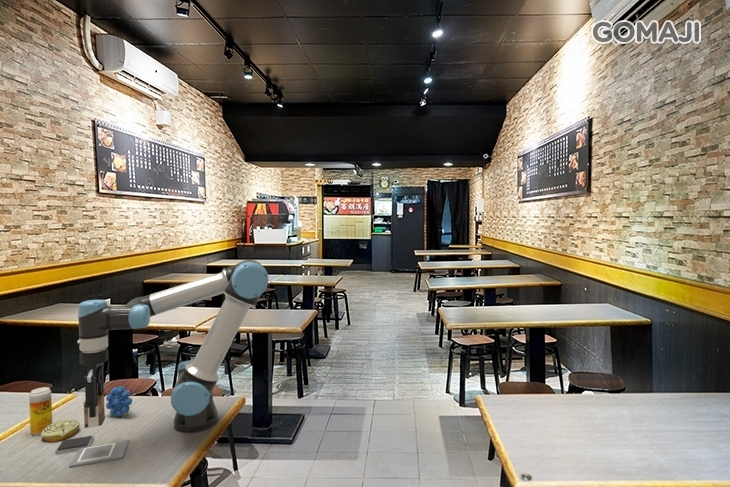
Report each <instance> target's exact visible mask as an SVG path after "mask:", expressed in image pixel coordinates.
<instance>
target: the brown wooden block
mask: <svg viewBox="0 0 730 487" xmlns="http://www.w3.org/2000/svg"><path fill="white" fill-rule="evenodd" d="M97 403H98V405H99V426H98V427H100V426H103V424H104V422H105V419H106V417H105V415H106V413H105V411H106V410H105V397H104V395H100V396H98V399H97ZM85 405H86V401H85V400H84V402H83V417H84V418H83V419H84V429H89V428H88V408H84V406H85Z"/></svg>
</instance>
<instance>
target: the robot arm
mask: <svg viewBox="0 0 730 487" xmlns="http://www.w3.org/2000/svg"><path fill="white" fill-rule="evenodd" d="M268 285H269V275H268V272H267V270H266V268H265V266H263V265H262V264H261V263H260V262H259V261H258V260H254V259H246V260H245V259H244V260H242V261H240V262H237V263H236V264H233V265H231V266H228V267H225V268H223V269H222V271H221V272H219V273H215V274H212V275H209V276H205V277H202V278H199V279H196V280H194V281H193V280H192V281H190V282H187V283H182V284H180V285H177V286H174V287H170V288H168V289H164V290H161V291H157V292H154V293H151V294H148V295H145V296H138V297H134V298H133V299H131V300H130V301H129V302H128V303H126V304H124V305H108V302H107V301H106V300H105V299H89V300H85V301H82V302H80V303H79V305H78V316H77V319H78V337H79V338H78V340H77V341H76V342H77V344H79V345H78V346H79V351H80V352H79V364H80V365H81V366H86V367H87V369H86V370H85V373H84V374H85V376H84V378H83V380H84V392H85V394H84V396H85V400H84V402H85V401H86V405H85V406H84V405H83V409H84V408H88V428H87V429H90V428H94V427H100V426H99V405H98V403H97V399H98V396H100V395H104V398H106V393H104V392H105V388H104V383H105V382H104V365H105V364H104V363H105V362H107V361H108V360H109V349H108V347H109V337H108V336H109V335H108V332H109V331H115V330H116V331H117V330H133V329H134V330H138V329H143V328H147V327H148V326H149V325H150V322H151V317H153V316H156V315H159V314H163V313H166V312H168V311H172V310H177V309H178V308H182V307H184V306H188V305H191V304H194V303H197V302H200V301H204V300H207V299H210V298H212V297H215V296H220V295H222V294H224V295H225V296H224V298H225V299H224V301H223V302H222V305H221V306H220V309H219V310H218V312H217V315H215V318H214V320H213V322H212V324H211V326H210V328H209V330H208V332H207V334H206V335H205V338H204V339H203V342H202V343H201V346H200V348H199V349H198V351H197V353H196V355H195V357H194V359H190V360H185V361H182V362H180V363H179V364H178V365H177V370H176V371H177V380H176V383H175V385H174V388H173V390H172V391H171V395H170V403H171V404H170V405H171V406H172V409H173V411H175V416H174V420H173V428H174V430H176V432H180V433H197V432H200V431H201V432H202V431H205V430H207V429H209V428H211V427H213V426H214V425H216V424H217V423H218V421H219V412H218V408H217V407H216V404H215V402H214V395H213V394H214V392H213V390H214V389H215V387H216V384H218V383H217V382H218V381H219V379H220V377H219V374H218V370H220V367H221V365H222V363H223V361H224V359H225V357H226V354H227V353H228V351H229V349H230V347H231V345H232V343H233V341H234V339H235V337H236V335H237V333H238V331H239V329H240V327H241V325H242V323H243V321H244V319H245V317H246V315H247V314H248V312H249V309H251V308H253V307H256V305H257V303H258V301H259V299H260V298H261V296H262V295H263V293H264V292H265V291H266V289H267V288H268Z"/></svg>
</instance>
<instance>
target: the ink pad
mask: <svg viewBox="0 0 730 487" xmlns="http://www.w3.org/2000/svg"><path fill="white" fill-rule="evenodd" d="M94 439H95V435H87V436H80V437H74V438H66V439H63V440H61V442H60V443H59V445H58V446H57V448H56V450H55V451H54V452H55V453H54V454H55V455H61V454H65V453H67V454H68V453H72V452H78V450H79V449H80V448H86V447H89V446H92V444H93V441H94Z"/></svg>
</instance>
